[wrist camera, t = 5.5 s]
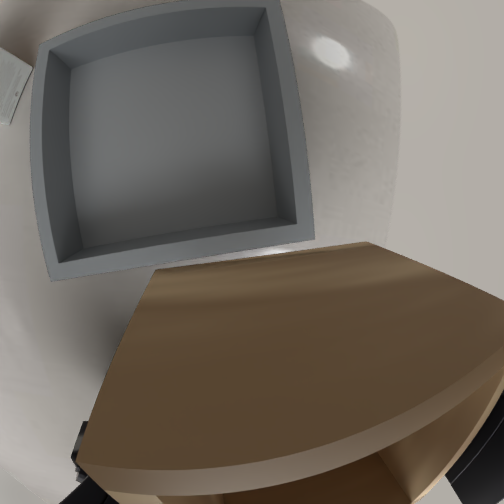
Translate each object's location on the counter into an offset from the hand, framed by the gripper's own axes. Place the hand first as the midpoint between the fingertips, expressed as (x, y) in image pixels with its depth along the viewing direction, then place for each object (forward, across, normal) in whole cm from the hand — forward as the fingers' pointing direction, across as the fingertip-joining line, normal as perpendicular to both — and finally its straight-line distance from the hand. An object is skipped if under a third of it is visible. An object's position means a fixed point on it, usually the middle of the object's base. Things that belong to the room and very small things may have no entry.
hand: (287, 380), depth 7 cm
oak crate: (+1, 0, 0) cm, 1 cm away
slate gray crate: (+13, +4, -10) cm, 17 cm away
